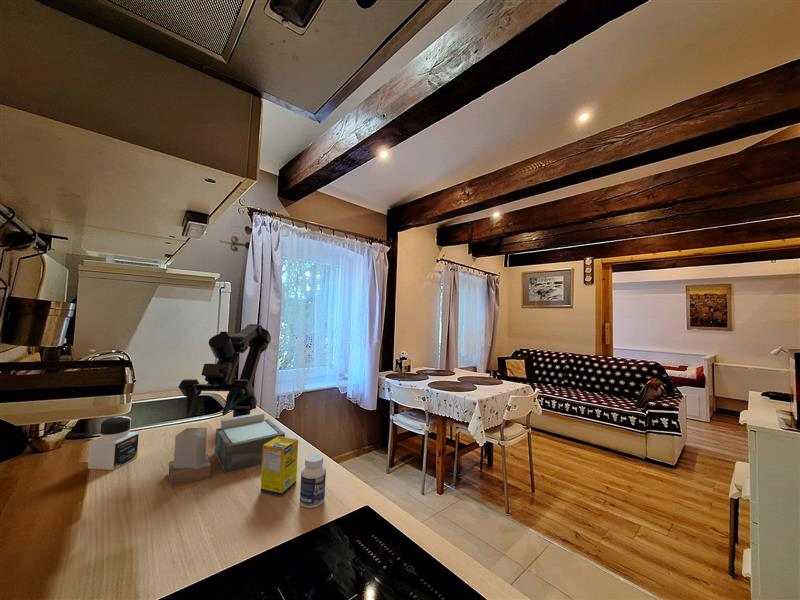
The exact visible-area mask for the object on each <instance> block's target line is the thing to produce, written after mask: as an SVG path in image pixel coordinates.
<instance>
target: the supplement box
mask: <svg viewBox="0 0 800 600" xmlns="http://www.w3.org/2000/svg"><path fill="white" fill-rule="evenodd" d="M298 450H299V438H298V439H297V438H291V437H286V436H285V437H280V436H278V437H276V438H275V439H273V440H271V441H269V442H267V443H266V444H264V445H263V449H262V464H261V473H260V474H261V475H260V476H261V477H260V492H261V493H267V494H271V495H276V496H280V497H283V495H284V494H285V495H286V493H287V492H288V491H290V489H291V488H293V487H294V486H296V484H297V477H298V476H297V474H298V473H297V472H298V452H299V451H298Z"/></svg>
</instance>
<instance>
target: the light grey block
mask: <svg viewBox="0 0 800 600" xmlns="http://www.w3.org/2000/svg"><path fill="white" fill-rule="evenodd" d="M207 431H208V427H186V428H184V429H183V430H182V431H180V432H179V433H177V434H175V436H174V437H175V439H174V456H173V461H174V469H175V468H196V467H197V466H198V465H199V464H200V463H201V462H202V461H203V460H204V459H205V453H206V452H207V449H206V448H207V437H208V436H207Z"/></svg>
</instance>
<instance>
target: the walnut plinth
mask: <svg viewBox="0 0 800 600" xmlns="http://www.w3.org/2000/svg"><path fill="white" fill-rule="evenodd" d="M211 467H212V465H211V462H210V460H209V457H208V456H207V454H206V453H205V459H204V460H203V461H202V462H201V463H200V464H199V465H198V466H197V467H196V468H175V469H174V460H171V461H169V462H168V479H169V483H170V488H176V487H179V486H182V485H186V484H190V483H193V482H197V481H201V480H204V479H208V478H211Z"/></svg>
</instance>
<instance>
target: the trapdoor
mask: <svg viewBox="0 0 800 600" xmlns="http://www.w3.org/2000/svg"><path fill="white" fill-rule="evenodd" d="M220 420H221V421H220V428H221V429H222V431H223V432H224V433H225V435H226V436H227V438H228V439H229V441H230V442H231V444H233V443H238V442H242V441H246V440H251V439H255V438H260V437H264V436H269V435H273V434H278V432H276V431H275V430H274V429H273V428H272V427H271V426H270V425H269V424H268V423H266V422H265V413H264V412H262V411H261V412H256V413H250V414H249V415H243V416H238V417H233V416H232V417H227V418H221V419H220Z"/></svg>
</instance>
